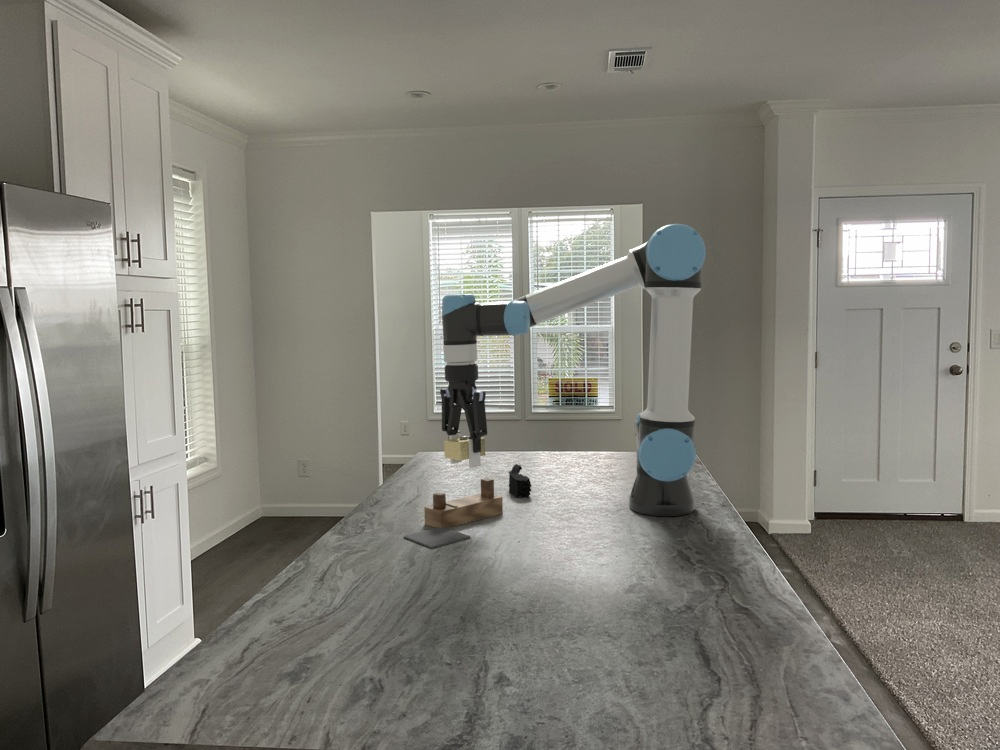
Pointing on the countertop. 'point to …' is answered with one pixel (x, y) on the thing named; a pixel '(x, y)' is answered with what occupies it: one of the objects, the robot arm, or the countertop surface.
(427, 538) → the mat
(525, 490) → the toy
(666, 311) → the robot arm
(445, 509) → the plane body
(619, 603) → the countertop surface
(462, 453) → the yellow block with knob
